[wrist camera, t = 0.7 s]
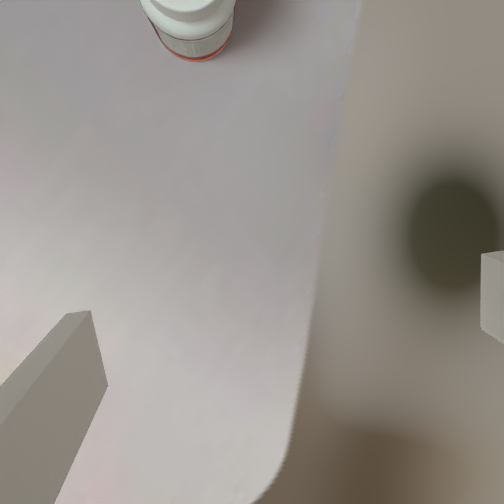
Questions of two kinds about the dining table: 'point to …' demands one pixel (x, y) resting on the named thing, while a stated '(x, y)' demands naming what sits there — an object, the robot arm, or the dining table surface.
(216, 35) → the pill bottle
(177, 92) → the dining table surface
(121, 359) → the dining table surface
